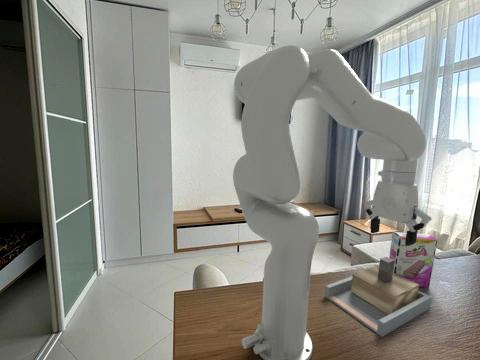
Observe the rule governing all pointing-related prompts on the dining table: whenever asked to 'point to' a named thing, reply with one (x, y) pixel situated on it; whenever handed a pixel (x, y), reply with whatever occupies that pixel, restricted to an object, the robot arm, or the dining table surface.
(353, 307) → the bay
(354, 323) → the dining table surface
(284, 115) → the robot arm
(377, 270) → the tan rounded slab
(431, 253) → the candy bar box
